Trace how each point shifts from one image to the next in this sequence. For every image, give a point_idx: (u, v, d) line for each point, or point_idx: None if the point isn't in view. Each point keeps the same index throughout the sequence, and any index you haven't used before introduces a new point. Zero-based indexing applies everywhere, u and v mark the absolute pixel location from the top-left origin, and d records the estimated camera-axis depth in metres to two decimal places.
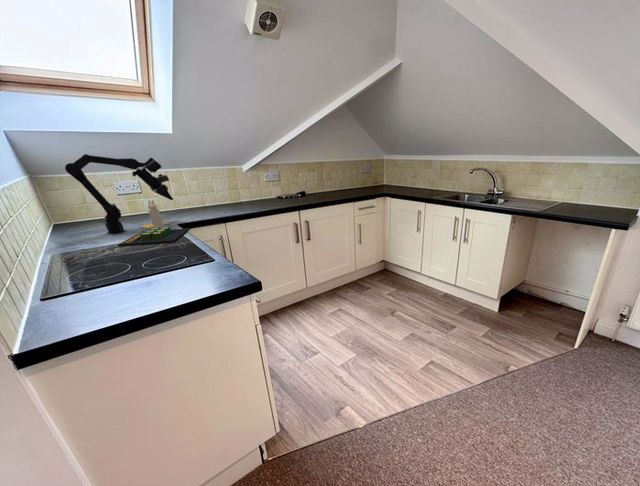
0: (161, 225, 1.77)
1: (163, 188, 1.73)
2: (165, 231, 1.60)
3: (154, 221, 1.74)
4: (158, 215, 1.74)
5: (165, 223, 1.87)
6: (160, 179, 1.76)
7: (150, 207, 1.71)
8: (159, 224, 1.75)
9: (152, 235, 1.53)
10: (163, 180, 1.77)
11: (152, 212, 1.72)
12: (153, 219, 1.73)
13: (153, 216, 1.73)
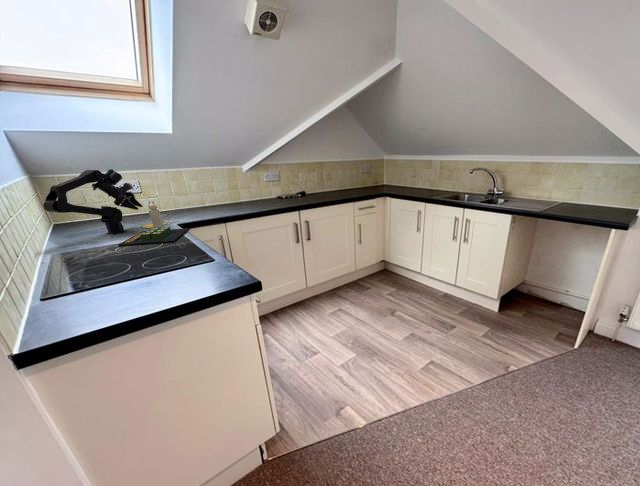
0: (161, 225, 1.77)
1: (120, 199, 1.61)
2: (165, 231, 1.60)
3: (154, 221, 1.74)
4: (158, 215, 1.74)
5: (165, 223, 1.87)
6: (121, 189, 1.65)
7: (150, 207, 1.71)
8: (159, 224, 1.75)
9: (152, 235, 1.53)
10: (124, 189, 1.65)
11: (152, 212, 1.72)
12: (153, 219, 1.73)
13: (153, 216, 1.73)
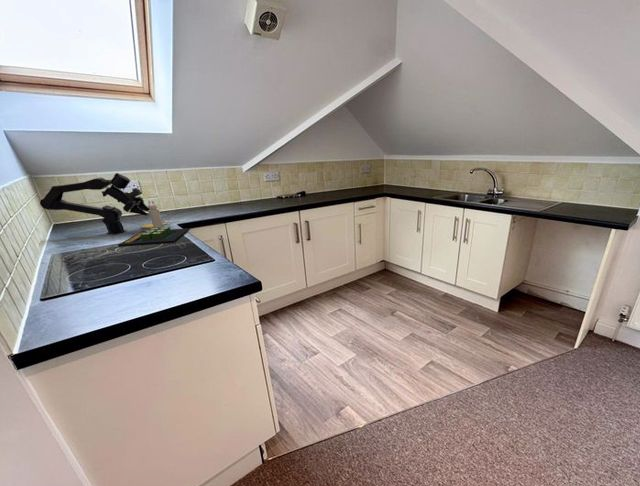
0: (161, 225, 1.77)
1: (129, 205, 1.61)
2: (165, 231, 1.60)
3: (154, 221, 1.74)
4: (158, 215, 1.74)
5: (165, 223, 1.87)
6: (130, 195, 1.65)
7: (150, 207, 1.71)
8: (159, 224, 1.75)
9: (152, 235, 1.53)
10: (133, 195, 1.66)
11: (152, 212, 1.72)
12: (153, 219, 1.73)
13: (153, 216, 1.73)
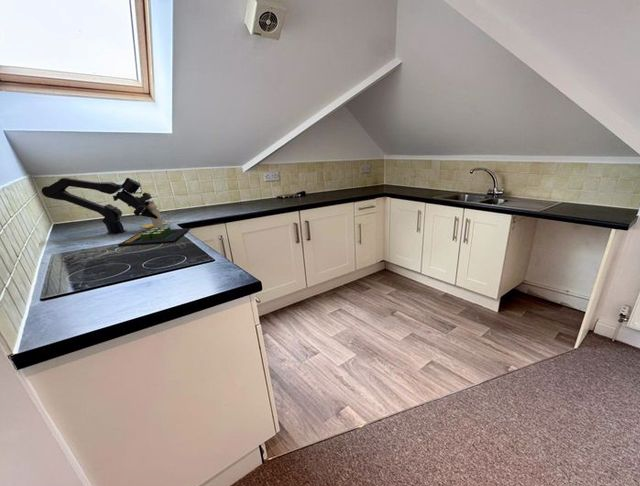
0: (161, 225, 1.77)
1: (139, 209, 1.64)
2: (165, 231, 1.60)
3: (154, 221, 1.74)
4: (158, 215, 1.74)
5: (165, 223, 1.87)
6: (140, 199, 1.67)
7: (150, 207, 1.71)
8: (159, 224, 1.76)
9: (152, 235, 1.53)
10: (144, 199, 1.68)
11: (152, 212, 1.72)
12: (153, 219, 1.73)
13: None
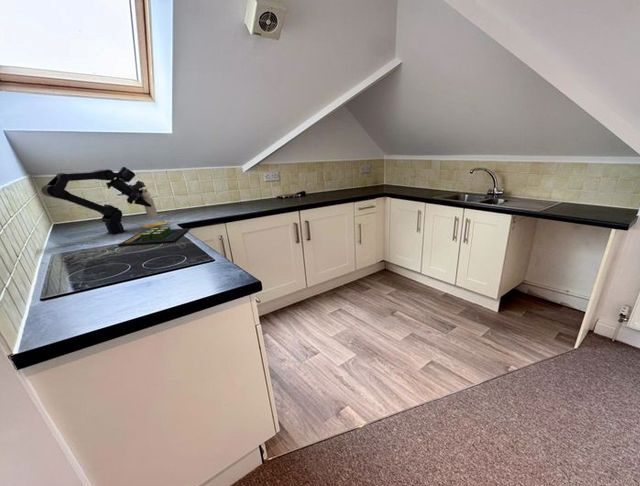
0: (155, 213, 1.78)
1: (132, 197, 1.65)
2: (165, 231, 1.60)
3: (148, 209, 1.76)
4: (152, 203, 1.76)
5: (165, 223, 1.87)
6: (134, 187, 1.69)
7: (143, 195, 1.73)
8: (153, 212, 1.77)
9: (152, 235, 1.53)
10: (137, 188, 1.70)
11: (145, 200, 1.73)
12: (147, 207, 1.75)
13: None
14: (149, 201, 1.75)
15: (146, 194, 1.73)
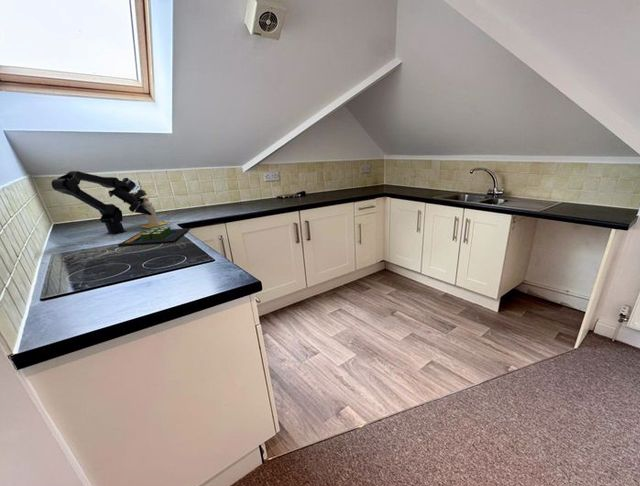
0: (156, 222, 1.83)
1: (134, 205, 1.70)
2: (165, 231, 1.60)
3: (149, 218, 1.80)
4: (153, 212, 1.81)
5: (165, 223, 1.87)
6: (135, 196, 1.74)
7: (145, 204, 1.78)
8: (154, 221, 1.82)
9: (152, 235, 1.53)
10: (139, 196, 1.75)
11: (147, 209, 1.78)
12: (148, 216, 1.80)
13: None
14: (150, 210, 1.79)
15: (147, 203, 1.78)
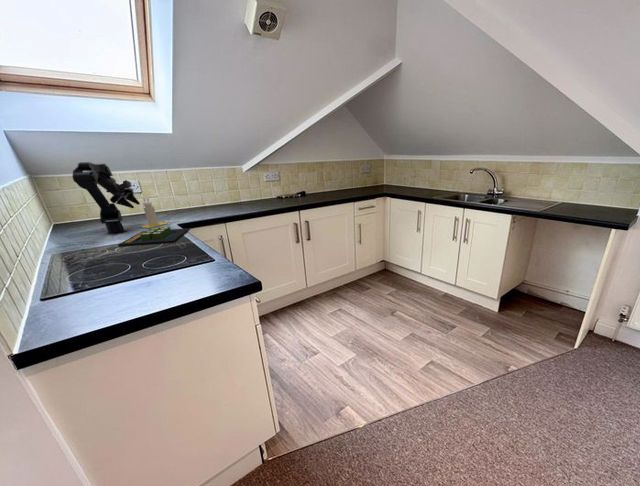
0: (156, 222, 1.83)
1: (116, 197, 1.66)
2: (165, 231, 1.60)
3: (149, 218, 1.80)
4: (153, 212, 1.81)
5: (165, 223, 1.87)
6: (119, 187, 1.70)
7: (145, 204, 1.78)
8: (154, 221, 1.82)
9: (152, 235, 1.53)
10: (123, 187, 1.70)
11: (147, 209, 1.78)
12: (148, 216, 1.80)
13: (148, 213, 1.79)
14: (150, 210, 1.79)
15: (147, 203, 1.78)
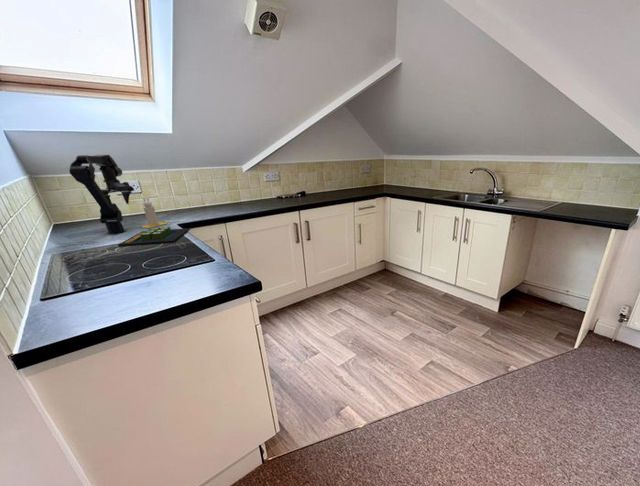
0: (156, 222, 1.83)
1: None
2: (165, 231, 1.60)
3: (149, 218, 1.80)
4: (153, 212, 1.81)
5: (165, 223, 1.87)
6: (113, 186, 1.71)
7: (145, 204, 1.78)
8: (154, 221, 1.82)
9: (152, 235, 1.53)
10: (115, 188, 1.71)
11: (147, 209, 1.78)
12: (148, 216, 1.80)
13: (148, 213, 1.79)
14: (150, 210, 1.79)
15: (147, 203, 1.78)
